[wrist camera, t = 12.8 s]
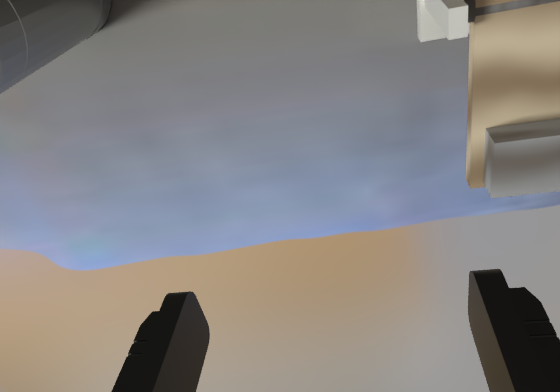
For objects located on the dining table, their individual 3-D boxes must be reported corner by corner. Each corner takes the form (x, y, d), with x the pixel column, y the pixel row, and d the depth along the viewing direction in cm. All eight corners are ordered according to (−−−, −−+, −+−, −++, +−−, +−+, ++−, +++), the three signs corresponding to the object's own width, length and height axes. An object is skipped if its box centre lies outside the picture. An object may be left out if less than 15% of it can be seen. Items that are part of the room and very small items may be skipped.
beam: (571, 166, 38) (594, 193, 35) (460, 179, 40) (471, 206, 37) (658, -333, 22) (714, -371, 19) (466, -275, 24) (487, -300, 21)
